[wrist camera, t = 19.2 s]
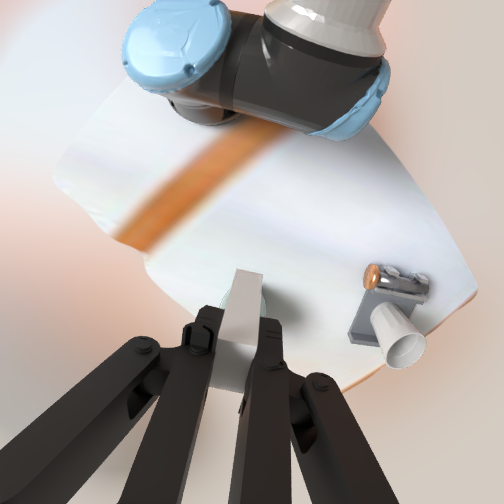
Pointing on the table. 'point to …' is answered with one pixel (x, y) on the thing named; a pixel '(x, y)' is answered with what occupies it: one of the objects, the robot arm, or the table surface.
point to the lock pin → (392, 281)
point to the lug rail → (398, 292)
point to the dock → (361, 325)
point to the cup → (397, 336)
